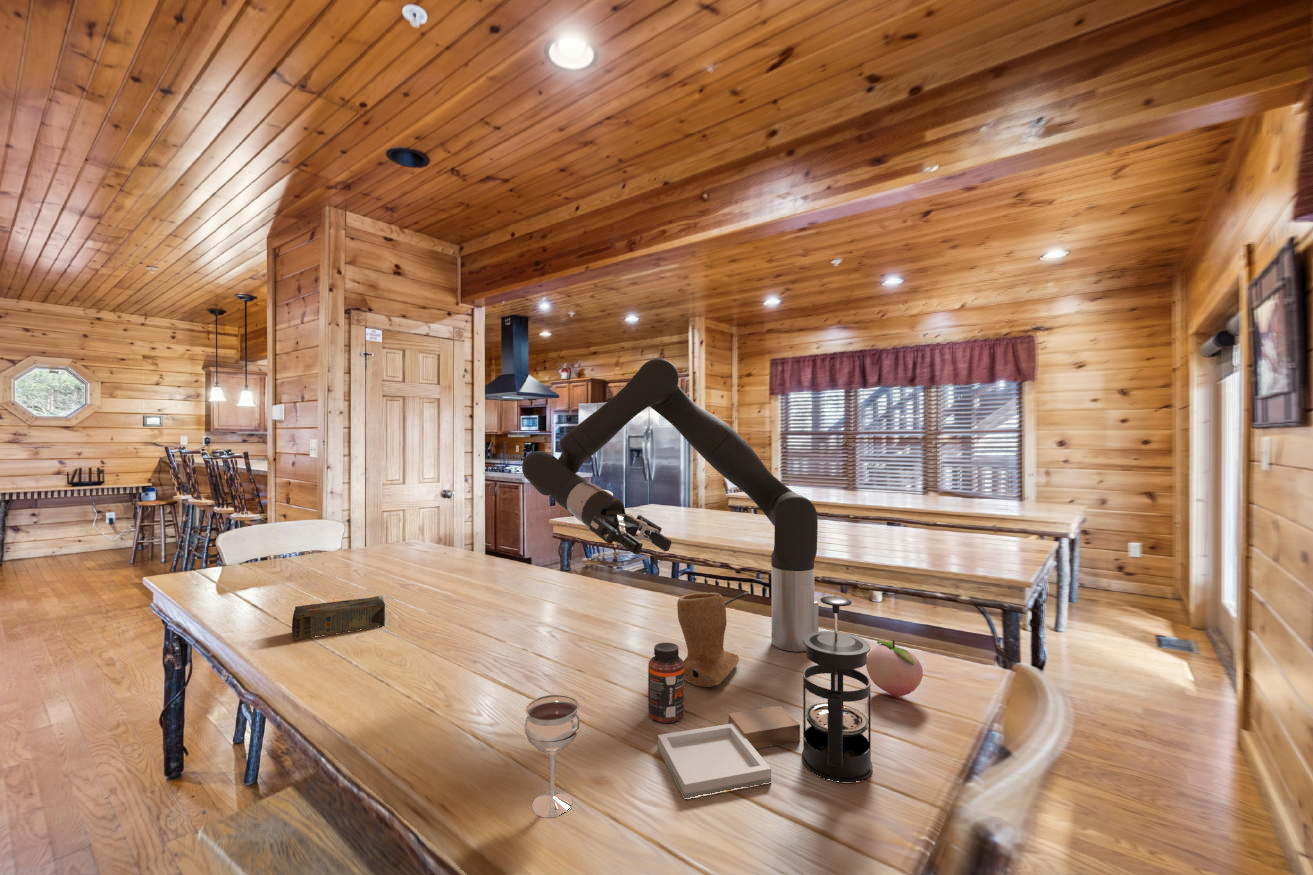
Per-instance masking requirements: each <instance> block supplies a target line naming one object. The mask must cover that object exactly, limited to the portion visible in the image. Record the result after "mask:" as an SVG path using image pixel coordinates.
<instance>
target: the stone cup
mask: <svg viewBox="0 0 1313 875" xmlns="http://www.w3.org/2000/svg"><path fill="white" fill-rule="evenodd" d="M676 605H677V608H676V609H677V618H678V622H679V623H678V624H679V625H680V629H681V631H682V635H683V638H684V641H685V644H686V649H687V656H686V657H685V659H684V660H683V662H684V681H686V682H688V683H689V684H692V685H694V686H697V687H702V688H704V687H705V688H706V687H707V688H708V687H709V688H710V687H715V686H717V685H720V684H721V683H722V682H723V681H724V680H725V679H726V678H727V677H728V676H729V674H730V673H731V672H732V671H733V670H734V669H735V667H737V665H738V663H739V662H740V656H739V655H738V654H735V653H733V652H729V651H726V650H725V649H724V641H725V640H724V639H725V634H726V630H727V629H726V627H727V621H728V620H727V610H726V601H725V600H724V596H722V594H720V592H718V593H717V592H696V593H688V594H684V595H682V596H680V597H679V598H678V599H677V604H676Z"/></svg>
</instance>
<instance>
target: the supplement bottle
mask: <svg viewBox="0 0 1313 875" xmlns="http://www.w3.org/2000/svg"><path fill="white" fill-rule="evenodd" d="M679 650H680V649H679V646H678V644H676V643H674V642H659V643H657V644H655V645H654V648H653V657H651V658H650V659H649V660H648V661H649V662H648V665H647V666H648V667H647V670H648V671H647V674H648V678H647V679H648V680H647V682H648V684H647V685H648V686H647V687H648V688H647V690H648V691H647V701H648V702H647V703H648V704H647V709H648V710H647V712H648V715H649V717H650V718H651V719H652V720H654V721H655V722H658V723H664V724H665V723H666V724H669V723H670V724H671V723H675V722H677V721H680V720H681V719H682V718H683V717H684V715H685V679H684V662H683V661H684V660H683V659H682V658H681V657H680V656H679V654H680V652H679Z"/></svg>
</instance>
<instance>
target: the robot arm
mask: <svg viewBox="0 0 1313 875" xmlns="http://www.w3.org/2000/svg"><path fill="white" fill-rule="evenodd" d="M679 378H680V377H679V373H678V370H677V368H676V366H675V364H673V363H672V362H670V361H669V360H667V359H665V358H653V359H650V360H647V361H646V362H645V363H644V364H642V366H641V367H640V368H639V369H638V371H637V372H636V373H635V374H634V375H633V377H632V378H631V379H630V380H629V381H628V382H627V383H626V384H625V385H624V386H623V387H622V388H621V389H620V390H619V391H618V392H617V393H616V394H615V395H614V396H613V397H611V398H610V399H609V400H608V401H607V402H606V403H604V404H603V405H602V406H601V407H599V408H598V409H597V410H595V411H594V412H593V413H591V414H590V415H589V416H587V418H585V419H584V420H582V421H581V422H580V423H579V424H578V425H577V426H575V427H573V429H571V430H570V431H569V432H568V433H566V434H565V435H564V436H563V437H562V438H561V439H560V441H559V446H560V449H561V454H560V456H559V457H555V456H554V455H553V454H552V453H550V452H547V451H545V450H535V451H532V452H530V453H529V454H527V455H526V457H524V459H523V461H522V464H521V471H522V474H523V476H524V478H525V479H526V480H527V481H528V482H529V483H530V484H531V485H532V486H533V487H534V489H536V491H537V492H538V493H540V494H541V495H543V496H548V497H549V496H551V498H552V499H553V500H554V501H555V502H556V503H558V505H559V506H561V507H562V508H564V509H565V510H566V511H568V512H569V513H570V514H571V515H572V516H573V517H574V518H576V519H577V520H578V521H580V522H581V523H582V524H584V525H585V526H587V528H588V529H589V530H590V531H591V532H593V533H594V534H595V535H596V536H598V537H599V538H601V539H602V540H603V541H604V542H605V543H607V544H610V545H612V544H613V542H614V543H615V544H616V545H618V546H622V547H624V548H625V549H627V550H628V551H629V552H631V553H632V554H634V555H640V553H641V551H642V548H643V542H642V541H641V540H645V541H647V542H650V543H651V544H653V545H654V546H656V547H658V548H659V549H660V550H662V551H663V552H668V551H669V550H670V549H671V546H672V544H673V543H672V540H671V539H670V538H668V537H667V536H665V535H663V534H662V533H661V531H662V530H663V528H662V527H661V526H658V525H657V524H656V523H654V522H652V521H650V520H649V519H648V518H646V517H644V516H643V515H641V514H640V515H639V514H637V517H636V518H635V517H634V516H633V515H632V514H629V513H627V512H626V508H625V505H624V503H623V502H622V500H621V499H619V498H617V497H616V496H614V495H612V494H610V493H609V492H608V491H606V490H604V489H603V487H600V486H598V485H596V484H594V483H592V482H590V481H588V480H587V479H585V478H583V477H582V476H580V475H579V474H577V473H578V471H579V470H580V469H581V467H582V466H583V464H584V463H585V462H587V460H589V459H590V458H591V457H592V456H593V455H595V454H596V453H597V452H599V450H601V449H602V448H603V447H605V446H606V445H607V444H608V443H609V442H610V441H611V440H612V439H613V438H614V437H615V436H616V435H617V434H618V433H620V431H621V430H622V429H623V428H624V427H625V426H626V425H627V424H628V423H629V422H630V421H632V420H633V419H634V418H635V417H636V416H637V415H639V414H640V413H641V412H643V411H645V409H647V408H649V407H650V408H651V409H652V410H654V411H655V412H656V413H657V414H659V415H660V416H661V417H662V418H663V419H664V420H666V421H668V423H670V424H671V425H672V426H673V427H674V428H675V429H676V430H677V431H678V432H679V434H680V435H681V436H682V437H683V438H684V439H685V440H686V442H688V443H689V444H690V446H691V447H692V448H693V449H694V450H695V451H696V452H697V453H699V455H700V456H701V457H702V458H703V459H704V460H705V461H706V462H707V463H709V465H710V466H711V467H712V468H713V469H714V470H716V471H717V472H718V473H719V474H720V475H721V476H723V477H724V478H725V479H726V480H727V481H729V482H730V483H731V484H733V485H734V486H735V487H737V488H738V489H739V490H741V491H742V492H743V493H744V494H746V496H748V497H749V498H750V500H752V501H753V502H754V503H755V505H756V506H757V507H758V508H759V509H760V511H761V512H762V513H763V514H764V515H765V517H766V518H767V519H768V520H769V521H770V523H771V524H772V525H773V527H774V535H773V536H774V537H773V538H774V541H773V542H774V544H773V546H774V547H773V550H772V553H771V555H770V556H771V562H770V563H771V575H770V576H771V644H772V646H774V647H776V648H777V649H780V650H783V651H788V652H794V653H795V652H796V653H797V652H798V653H799V652H802V653H803V652H806V646H805V645H804V643H803V638H804V636H806V635H807V634H810V633H814V632H819V602H817V601H815V560H816V557H817V554H818V533H819V532H818V530H819V529H818V527H819V526H818V524H819V523H818V512H817V509H816V506H815V504H813V502H812V501H811V500H810V499H808V498H807V497H805V496H803V495H800V494H798V493H796V492H795V491H793V490H792V489H790V488H789V487H788V486H787V485H785V484H784V483H783V482H781V480H780V479H778V478H777V477H775V476H774V474H772V473H771V472H770V471H769V469H768V468H767V467H766V465H765V464H764V463H763V461H762V459H760V457H759V456H758V454H757V453H756V451H755V450H754V449H753V448H752V447H751V446H750V444H748V442H746V440H745V439H744V438H743V437H742V436H741V435H740V434H738V432H737V431H736V430H734V428H733V427H732V426H730V425H729V424H728V423H727V422H725V421H724V420H723V419H721V418H720V417H718V416H716V415H715V414H713V413H711V412H709V411H708V410H706V409H704V408H702V407H701V406H699V405H698V404H697V403H695V402H694V401H693V400H692V399H691V398H690V397H689V396H688V394H686V393H685V391H684V390H683V389H682V388H681V387H680V386H679V380H680V379H679ZM638 531H639V533H637V532H638Z"/></svg>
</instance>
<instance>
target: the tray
mask: <svg viewBox="0 0 1313 875" xmlns="http://www.w3.org/2000/svg"><path fill="white" fill-rule="evenodd" d="M657 749H658V752H659V753H660V755H661V758H662V759H663V761H664V763H665V765H666V767H667V769H668V770H670V771H669V773H670V772H671V773H670V774H672V775H671V777H672V776H673V777H672V779H673V778H674V779H675V781H676V782H675V781H674V782H675V784H676V783H677V784H676V786H677V785H678V786H677V788H678V787H679V788H678V790H679V789H680V790H679V792H680V791H681V792H682V794H683V796H684V798H690V797H695V796H698V795H703V794H710V793H711V794H712V793H715V792H720V791H724V790H731V789H734V788H741V787H750V786H754V785H761V784H763V783H769V782H771V783H772V767H771V766H770V765H769V764H768V763H767V761H766V760H765V759H764V757H763V756H761V754H760V753H759V752H758V751H757V750H756V749H755V748H754V747H753V746H752V745H751V744H750V742H749V741H748V740H747V739H746V738H745V736H744V735H743V734H742V733H741V732H740V730H739V729H738V728H737V727H736V725H735V724H734V723H732V724H728V723H727V724H726V723H725V724H719V725H715V726H707V727H701V728H695V729H694V728H693V729H688V730H681V731H675V732H668V733H663V734H662V733H661V734H658V735H657ZM674 779H673V780H674ZM681 792H680V793H681ZM682 794H681V795H682ZM683 796H682V797H683ZM684 798H683V799H684Z"/></svg>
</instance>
